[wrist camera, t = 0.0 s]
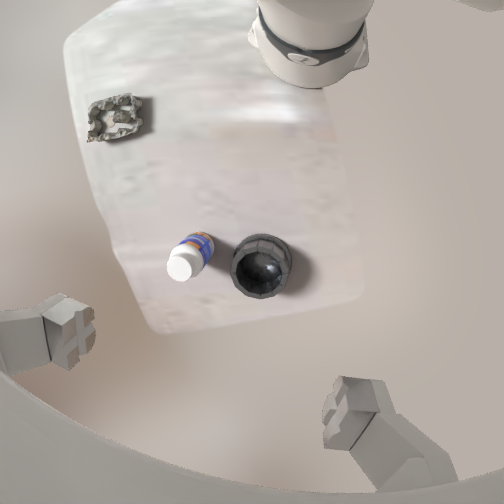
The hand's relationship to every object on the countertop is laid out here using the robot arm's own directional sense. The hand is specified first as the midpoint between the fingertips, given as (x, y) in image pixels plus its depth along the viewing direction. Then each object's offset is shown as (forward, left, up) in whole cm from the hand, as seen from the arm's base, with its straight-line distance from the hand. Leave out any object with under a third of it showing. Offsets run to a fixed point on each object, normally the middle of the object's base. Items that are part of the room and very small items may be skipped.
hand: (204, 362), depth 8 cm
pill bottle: (+13, -11, -39) cm, 43 cm away
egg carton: (-7, -30, -39) cm, 50 cm away
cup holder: (+13, 0, -39) cm, 41 cm away
